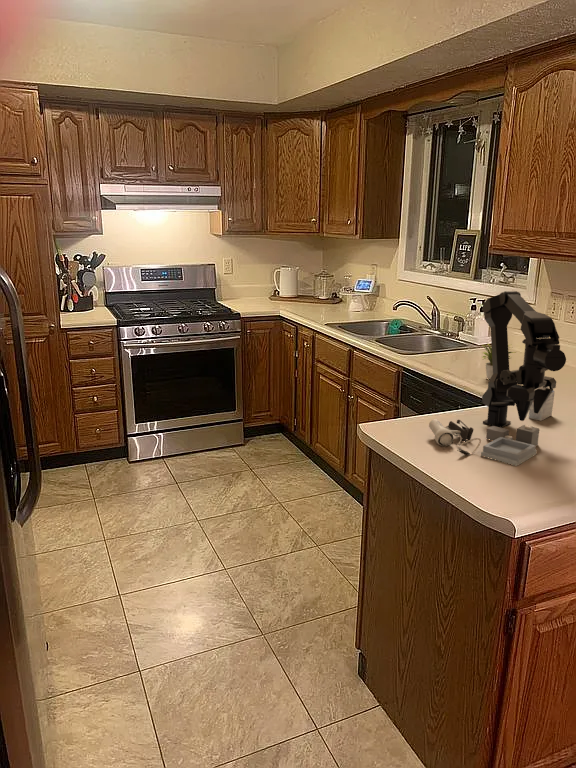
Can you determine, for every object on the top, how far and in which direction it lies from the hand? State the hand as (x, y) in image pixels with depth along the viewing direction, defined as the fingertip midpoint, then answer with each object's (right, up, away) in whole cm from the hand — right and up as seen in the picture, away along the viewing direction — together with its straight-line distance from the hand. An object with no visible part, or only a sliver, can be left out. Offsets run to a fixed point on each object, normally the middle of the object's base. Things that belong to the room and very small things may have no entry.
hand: (529, 416), depth 169 cm
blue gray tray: (-8, -10, -6) cm, 14 cm away
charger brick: (0, -8, +2) cm, 8 cm away
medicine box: (+14, -2, +27) cm, 30 cm away
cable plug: (-7, -7, +6) cm, 12 cm away
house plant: (+14, +11, +73) cm, 75 cm away
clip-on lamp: (-20, -8, +2) cm, 22 cm away
